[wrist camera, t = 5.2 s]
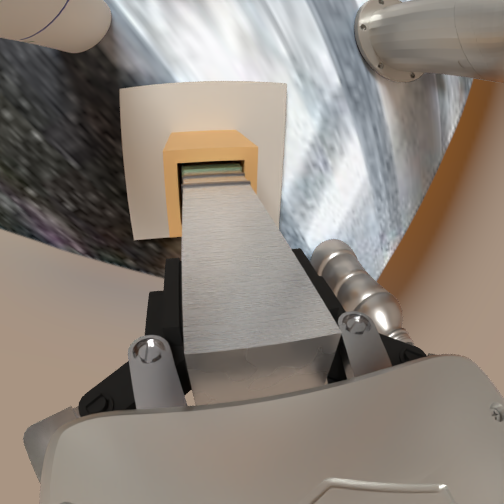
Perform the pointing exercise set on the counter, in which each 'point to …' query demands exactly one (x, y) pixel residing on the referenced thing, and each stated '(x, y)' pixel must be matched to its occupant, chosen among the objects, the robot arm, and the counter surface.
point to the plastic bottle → (358, 288)
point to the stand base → (198, 144)
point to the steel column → (245, 295)
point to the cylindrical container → (55, 22)
